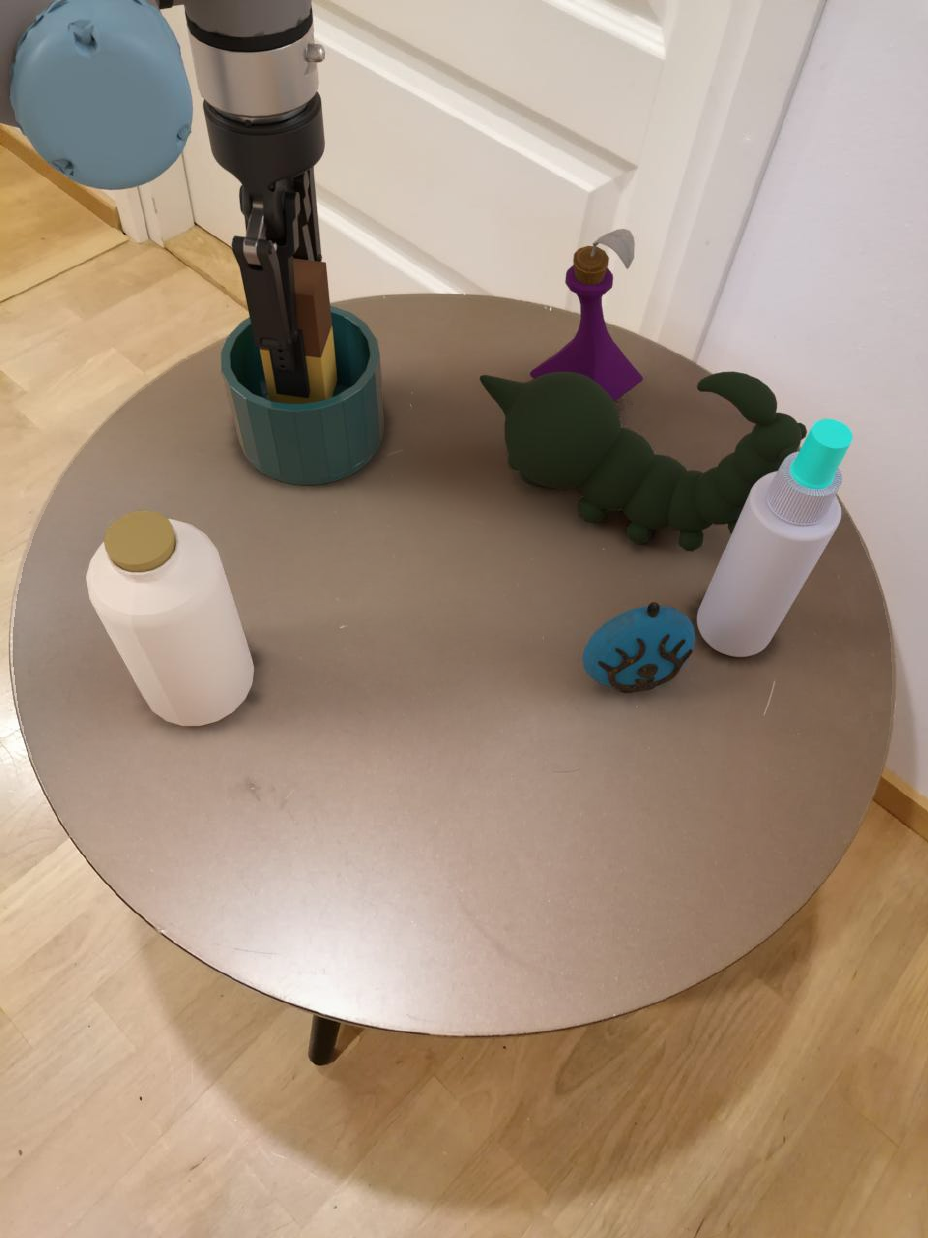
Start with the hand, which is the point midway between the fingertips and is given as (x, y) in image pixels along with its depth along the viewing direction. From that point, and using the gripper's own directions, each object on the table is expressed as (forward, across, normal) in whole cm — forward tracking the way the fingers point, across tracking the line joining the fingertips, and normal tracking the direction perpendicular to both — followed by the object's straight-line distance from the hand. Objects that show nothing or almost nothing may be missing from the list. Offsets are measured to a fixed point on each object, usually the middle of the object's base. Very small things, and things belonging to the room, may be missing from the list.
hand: (300, 373), depth 79 cm
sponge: (+2, 0, 0) cm, 2 cm away
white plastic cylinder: (+7, -26, +2) cm, 28 cm away
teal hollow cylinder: (+7, 0, 0) cm, 7 cm away
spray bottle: (+7, -15, -38) cm, 42 cm away
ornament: (+7, -21, -30) cm, 37 cm away
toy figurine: (+7, -4, -27) cm, 29 cm away
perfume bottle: (+7, +8, -24) cm, 27 cm away
